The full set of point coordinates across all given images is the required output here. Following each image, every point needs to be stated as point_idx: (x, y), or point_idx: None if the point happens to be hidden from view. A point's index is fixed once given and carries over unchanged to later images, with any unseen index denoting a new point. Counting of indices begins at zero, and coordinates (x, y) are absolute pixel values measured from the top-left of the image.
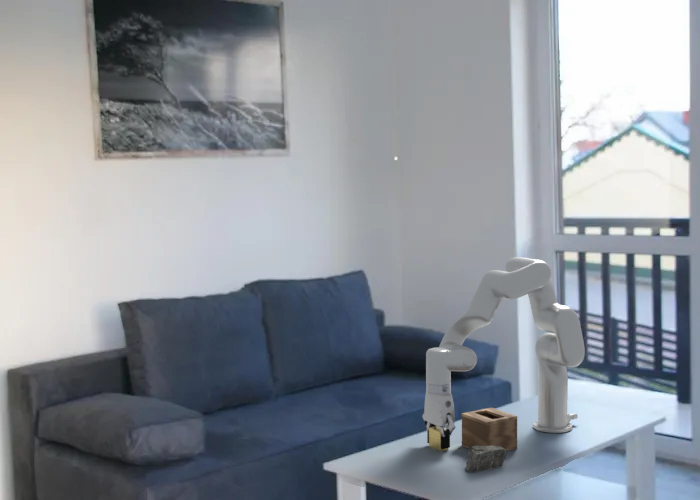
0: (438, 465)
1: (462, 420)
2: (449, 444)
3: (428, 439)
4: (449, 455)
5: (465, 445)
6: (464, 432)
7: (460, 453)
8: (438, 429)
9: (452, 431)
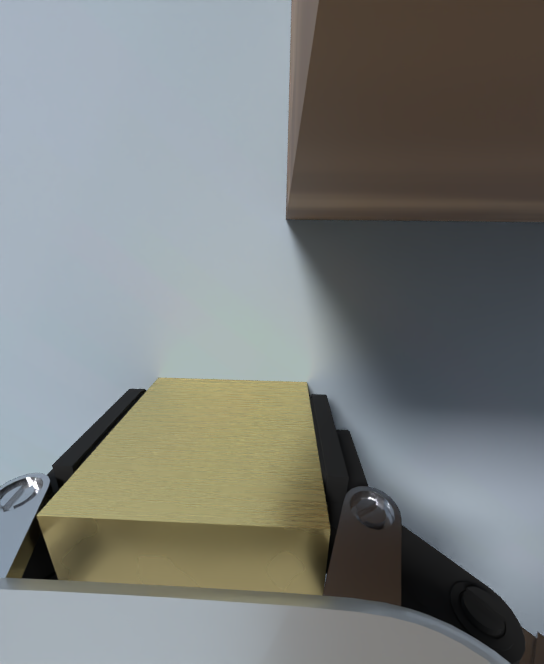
0: (490, 585)
1: (343, 142)
2: (328, 409)
3: None
4: (410, 451)
5: (343, 219)
6: (358, 204)
7: (436, 368)
8: (205, 583)
9: (497, 599)
